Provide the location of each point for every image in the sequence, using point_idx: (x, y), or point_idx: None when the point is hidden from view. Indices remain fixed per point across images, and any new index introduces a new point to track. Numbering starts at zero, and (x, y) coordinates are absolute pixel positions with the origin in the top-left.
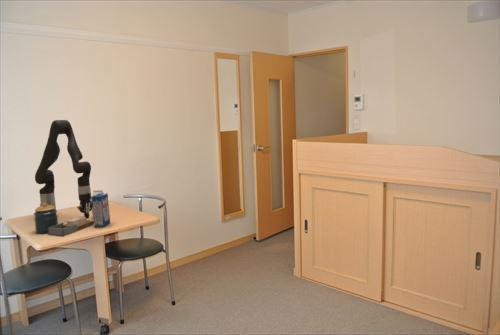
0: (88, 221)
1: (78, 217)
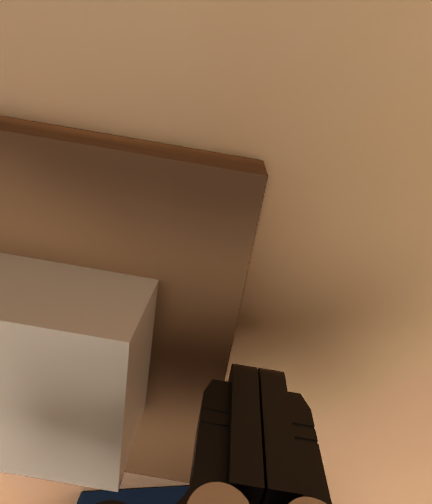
0: (154, 433)
1: (29, 358)
